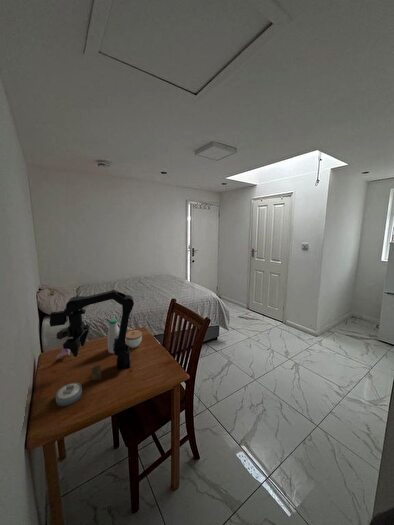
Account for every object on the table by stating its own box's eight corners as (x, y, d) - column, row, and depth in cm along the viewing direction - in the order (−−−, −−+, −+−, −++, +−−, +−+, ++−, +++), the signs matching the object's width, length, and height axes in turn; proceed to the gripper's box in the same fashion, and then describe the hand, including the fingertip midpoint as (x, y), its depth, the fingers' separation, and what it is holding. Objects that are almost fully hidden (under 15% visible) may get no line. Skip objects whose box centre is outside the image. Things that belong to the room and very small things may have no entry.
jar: (85, 387, 100) (84, 379, 99) (77, 404, 90) (76, 395, 89) (62, 390, 98) (61, 381, 97) (51, 407, 88) (50, 398, 88)
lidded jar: (122, 344, 137) (121, 331, 135) (137, 339, 144) (137, 326, 142) (129, 351, 129) (129, 337, 127) (145, 345, 136) (144, 332, 135)
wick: (101, 377, 106) (100, 365, 105) (100, 379, 105) (99, 366, 104) (93, 378, 106) (92, 366, 105) (92, 380, 104) (91, 367, 103)
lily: (80, 352, 129) (72, 339, 129) (83, 353, 120) (75, 339, 120) (59, 366, 122) (51, 352, 121) (61, 368, 113) (52, 353, 112)
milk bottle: (113, 355, 125) (111, 323, 122) (105, 351, 129) (103, 320, 126) (124, 349, 132) (122, 319, 128) (116, 345, 136) (114, 316, 132)
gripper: (66, 316, 112) (70, 342, 115) (48, 333, 94) (52, 364, 96) (88, 314, 114) (91, 340, 116) (75, 331, 96) (78, 361, 98)
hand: (79, 351), depth 107 cm, fingers open, 9 cm apart
